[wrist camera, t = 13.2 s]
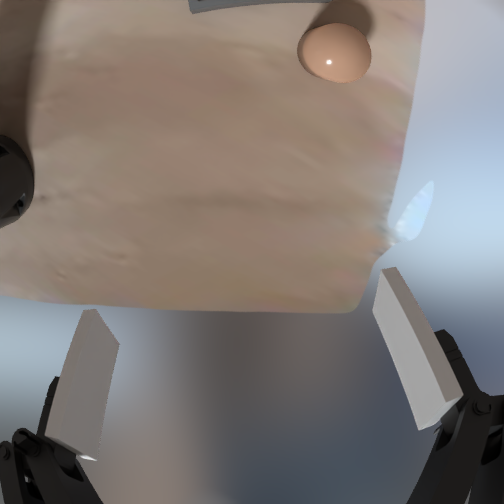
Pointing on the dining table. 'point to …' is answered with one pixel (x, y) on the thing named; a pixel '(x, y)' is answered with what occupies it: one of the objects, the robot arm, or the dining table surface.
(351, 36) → the light brown rounded lump
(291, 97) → the dining table surface
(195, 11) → the tray
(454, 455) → the robot arm
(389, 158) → the dining table surface
